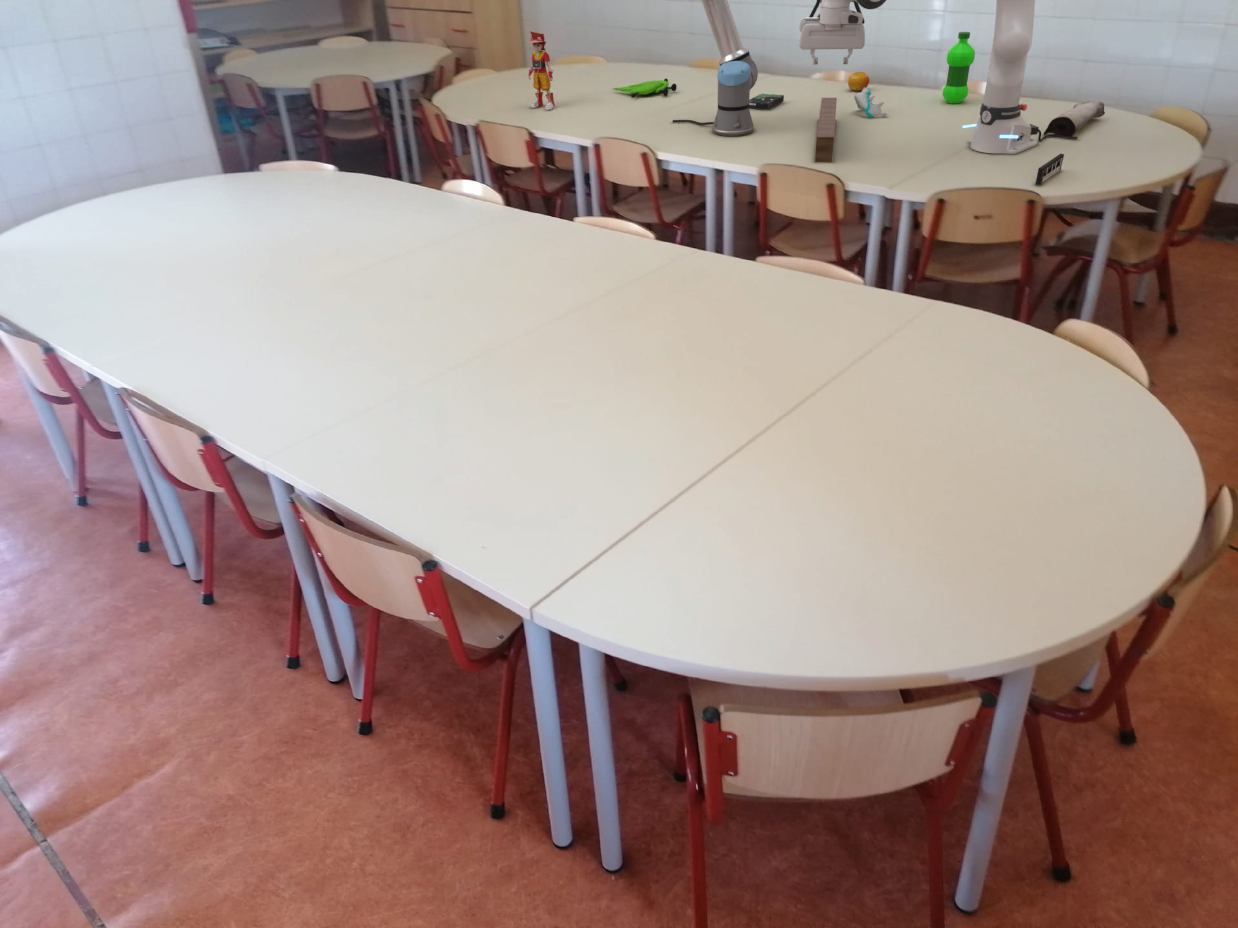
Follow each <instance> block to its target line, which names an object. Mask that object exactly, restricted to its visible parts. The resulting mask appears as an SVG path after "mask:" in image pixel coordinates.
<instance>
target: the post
mask: <svg viewBox="0 0 1238 928" xmlns="http://www.w3.org/2000/svg"><path fill="white" fill-rule="evenodd" d="M837 103H838V97H821V101H820V109H819V118H818V123H817V131H816V141H815V156H814V163H832V162H833V155H834V153H833V152H834V141H835V128H836V116H837Z"/></svg>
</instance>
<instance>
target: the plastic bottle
mask: <svg viewBox="0 0 1238 928" xmlns="http://www.w3.org/2000/svg"><path fill="white" fill-rule="evenodd" d="M970 36H971V32H970V31H959V32H958V36H957V39H958V42H957V43H956V44H954V45H953V46H952V47H951V48H950V49H949V50H948V52H947V54H946V63H947V64H948V69H947V70H948V71H947V76H946V77H947V78H946V84H945V85H944V87H943V90H942V97H943V99H944V100H945V101H946V102H947V103H948V104H960V103H961V102H963V101H964V100H966V98H967V96H968V95H969V85H968V79H969V73H970V67H971V65H972V64H973V63H974V61H975V57H976V51H975V49H974V47H972V45H971V44H970V43H969V42H968V41H969V39H970V38H971V37H970Z"/></svg>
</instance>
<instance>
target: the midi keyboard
mask: <svg viewBox="0 0 1238 928" xmlns="http://www.w3.org/2000/svg"><path fill="white" fill-rule="evenodd" d="M1064 157H1065V153H1059V154H1058V155H1056V156H1055V157H1052V159H1051V160H1049V161H1047V162H1045V164H1042V165H1041V166H1039V167H1038V169H1037V175H1036V179H1035V186H1040V185H1042V183H1044V182H1045V181H1047V180H1048V179H1049V178H1051V177H1052V176H1054V175H1055V174H1056V173H1058V172H1060V171H1061V170H1062V165H1063V161H1064Z"/></svg>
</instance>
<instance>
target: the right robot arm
mask: <svg viewBox="0 0 1238 928" xmlns="http://www.w3.org/2000/svg"><path fill="white" fill-rule="evenodd" d="M852 1H856V2H858V4H859V7H862V8H863V9H865V10H875V9H879V8H880V7H881V6H883V5H884V4H885V3H886V1H887V0H822V2H821V3H820V7H819V8H820V9H819V14H820V17H817V16H813V17H809V16H806V17H804V18H803V19H801V20H800V22H799V32H800V33H801V34H800V38H799V48H800V49H801V50H803V51H804V50H810V55H811V59H812V65H815V66H816V65H818V64H819V57H816V55H815V53H816V50H847V53H848V54H847V55H846V57H843V60H842V62H843V63H842V64H843V65H848V64H849V59H850V57H851V55H852V54H853V52H854V51H853V50H862V49H863V48H864V47H865V45H866V44H865V43H866V32H865V31H866V30H865V25H864V24H863V23H862V21H863V18H864V15H863V13H862V14H861V13H859V12H857V11H856V10H853V9H850V5H851V3H853V2H852ZM1035 4H1036V0H996V5H995V19H994V32H993V33H994V34H993V39H992V47H991V51H990V59H989V65H988V71H987V78H986V84H985V88H984V95H983V101H982V103H981V104H980V108H979V117H978V118H977V121H976V123H974V124H973V123H972V124H965V125H962V128H963V129H964V128H966V129H967V128H973V127H974V132H973V135H972V138H971V139H970V140H969V143H970V146H969V147H970V149H972V150H973V151H976V152H979V153H983V154H984V153H985V154H1006V155H1007V154H1008V155H1016V154H1018V153H1021V152H1024V151H1025V150H1029V149H1030V148H1033V147H1035V146H1037V145H1038V142H1042V141H1044V140H1045V139H1046V138H1051V137H1052V138H1053V137H1055V138H1063V139H1072V140H1078V136H1074V135H1073V136H1062V135H1056V134H1055V133H1048V134H1046V135H1043V137H1042V131H1041V130H1040V127H1039V126H1037V125H1034V124H1031V123H1029V122H1027V121H1026V120H1025V119H1024V117H1023V116H1022V115H1021V114H1022V112H1021V111H1023V112H1025V111H1026V110H1027V109H1028V105H1027V104H1026V103H1020V99H1021V94H1022V90H1023V84H1024V80H1025V73H1026V66H1027V60H1028V54H1029V51H1030V50H1031V47H1032V43H1033V35H1034V34H1033V33H1034V22H1035V21H1034V20H1035V19H1034V18H1035V6H1036V5H1035ZM849 9H850V10H849ZM1034 135H1035V136H1036V135H1038V137H1037V140H1038V141H1036V140H1035V139H1033V138H1031V137H1032V136H1034Z"/></svg>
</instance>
